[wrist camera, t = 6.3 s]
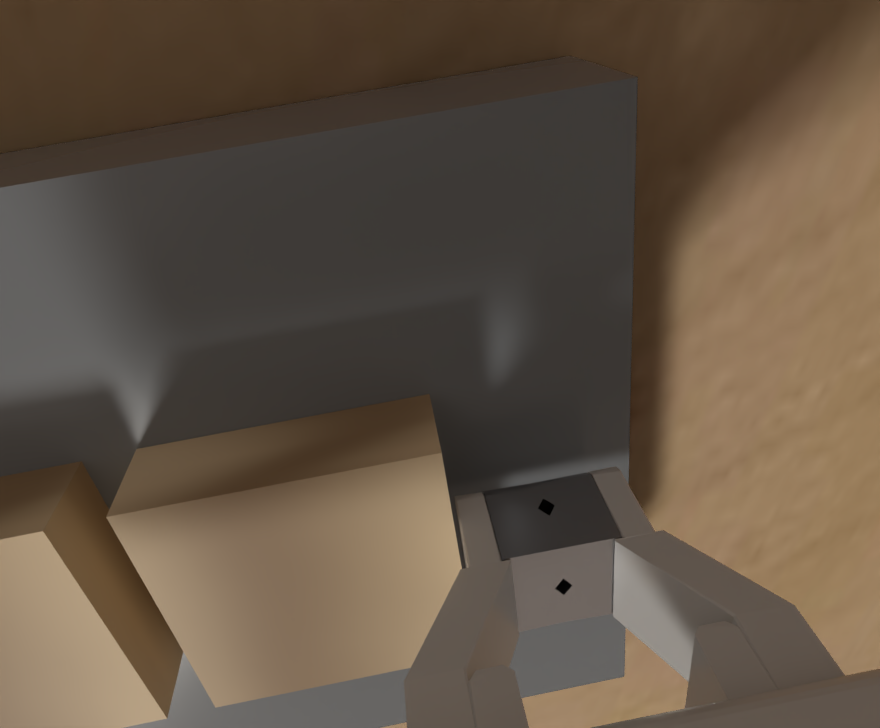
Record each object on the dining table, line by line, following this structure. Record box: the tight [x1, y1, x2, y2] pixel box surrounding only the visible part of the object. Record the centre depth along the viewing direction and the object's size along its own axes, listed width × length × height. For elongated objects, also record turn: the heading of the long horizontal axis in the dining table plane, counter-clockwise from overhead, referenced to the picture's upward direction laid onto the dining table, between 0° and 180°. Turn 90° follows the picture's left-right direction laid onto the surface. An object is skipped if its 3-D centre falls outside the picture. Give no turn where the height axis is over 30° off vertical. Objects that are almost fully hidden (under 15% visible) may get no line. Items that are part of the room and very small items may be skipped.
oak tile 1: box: [106, 394, 462, 708], centre depth 11 cm, size 5×5×2 cm
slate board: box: [0, 56, 638, 728], centre depth 13 cm, size 18×14×3 cm
